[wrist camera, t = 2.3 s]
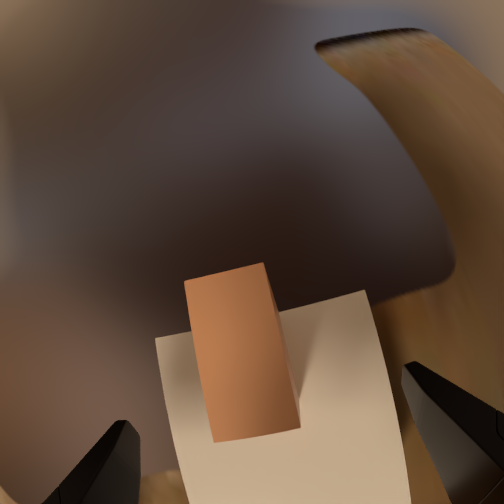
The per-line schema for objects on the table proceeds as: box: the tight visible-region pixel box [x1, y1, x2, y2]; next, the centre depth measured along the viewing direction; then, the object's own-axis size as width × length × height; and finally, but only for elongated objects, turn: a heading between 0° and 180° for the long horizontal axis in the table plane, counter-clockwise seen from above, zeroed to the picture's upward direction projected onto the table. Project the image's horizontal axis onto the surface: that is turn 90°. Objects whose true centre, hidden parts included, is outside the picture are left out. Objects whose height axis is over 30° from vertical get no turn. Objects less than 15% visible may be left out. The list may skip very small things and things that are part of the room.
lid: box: [155, 262, 411, 504], centre depth 9 cm, size 12×10×8 cm
